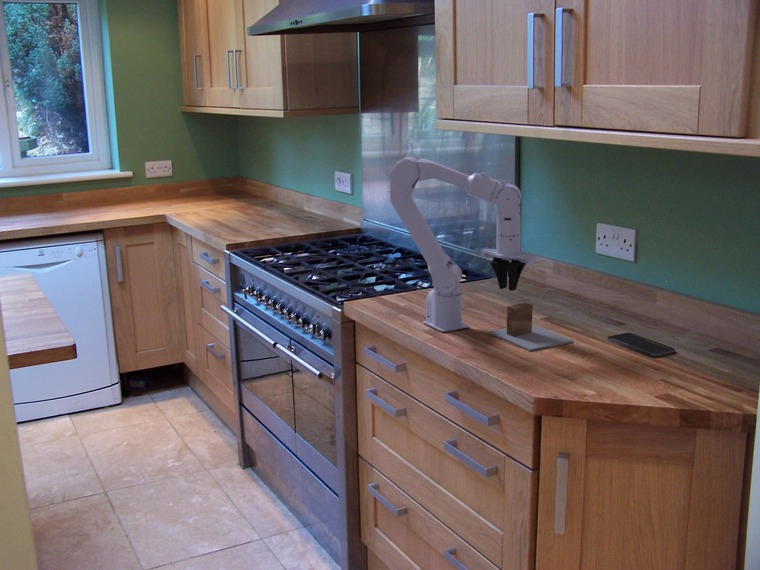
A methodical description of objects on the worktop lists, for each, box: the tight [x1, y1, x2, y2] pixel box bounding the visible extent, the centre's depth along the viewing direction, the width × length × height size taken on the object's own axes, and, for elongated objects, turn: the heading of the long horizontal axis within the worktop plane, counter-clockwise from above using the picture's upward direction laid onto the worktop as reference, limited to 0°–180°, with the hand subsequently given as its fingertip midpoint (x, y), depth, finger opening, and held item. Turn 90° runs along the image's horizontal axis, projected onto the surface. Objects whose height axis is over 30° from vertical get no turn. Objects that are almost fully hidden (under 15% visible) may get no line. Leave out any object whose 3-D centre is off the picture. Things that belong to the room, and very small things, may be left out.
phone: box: [606, 332, 676, 359], centre depth 191 cm, size 8×1×15 cm
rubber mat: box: [487, 323, 574, 352], centre depth 198 cm, size 16×13×1 cm
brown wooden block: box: [506, 301, 534, 337], centre depth 200 cm, size 3×6×7 cm, turn 125°
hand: (507, 289), depth 203 cm, fingers open, 2 cm apart
